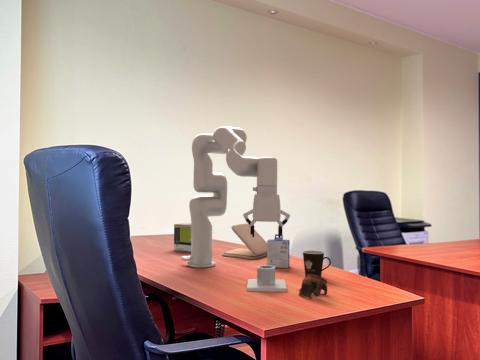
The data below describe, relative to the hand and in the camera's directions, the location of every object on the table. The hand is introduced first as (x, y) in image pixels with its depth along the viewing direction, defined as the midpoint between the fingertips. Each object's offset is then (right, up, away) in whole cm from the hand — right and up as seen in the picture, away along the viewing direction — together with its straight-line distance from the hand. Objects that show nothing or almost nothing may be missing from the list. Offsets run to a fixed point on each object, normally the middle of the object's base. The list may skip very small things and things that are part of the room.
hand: (266, 236), depth 165 cm
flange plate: (0, -18, 0) cm, 18 cm away
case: (-6, -19, +68) cm, 71 cm away
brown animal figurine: (+16, -19, -13) cm, 27 cm away
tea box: (-37, -18, +81) cm, 91 cm away
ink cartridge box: (+8, -19, +37) cm, 42 cm away
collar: (0, -17, 0) cm, 17 cm away
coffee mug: (+21, -19, +16) cm, 32 cm away
